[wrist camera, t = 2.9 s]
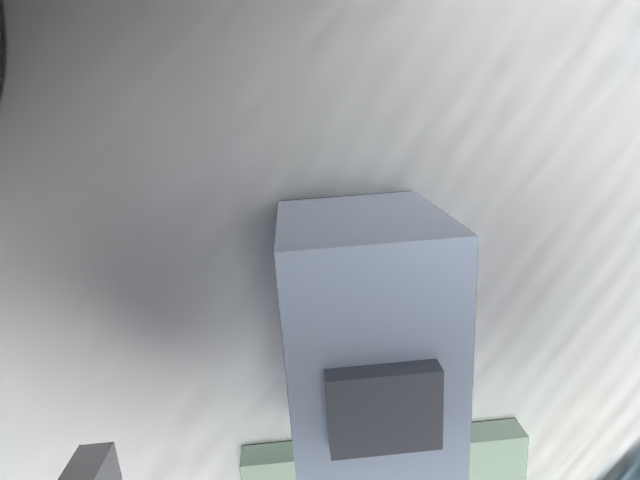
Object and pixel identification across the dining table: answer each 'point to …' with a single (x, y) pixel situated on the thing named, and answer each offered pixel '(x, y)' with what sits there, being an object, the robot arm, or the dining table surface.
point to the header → (485, 454)
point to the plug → (377, 336)
